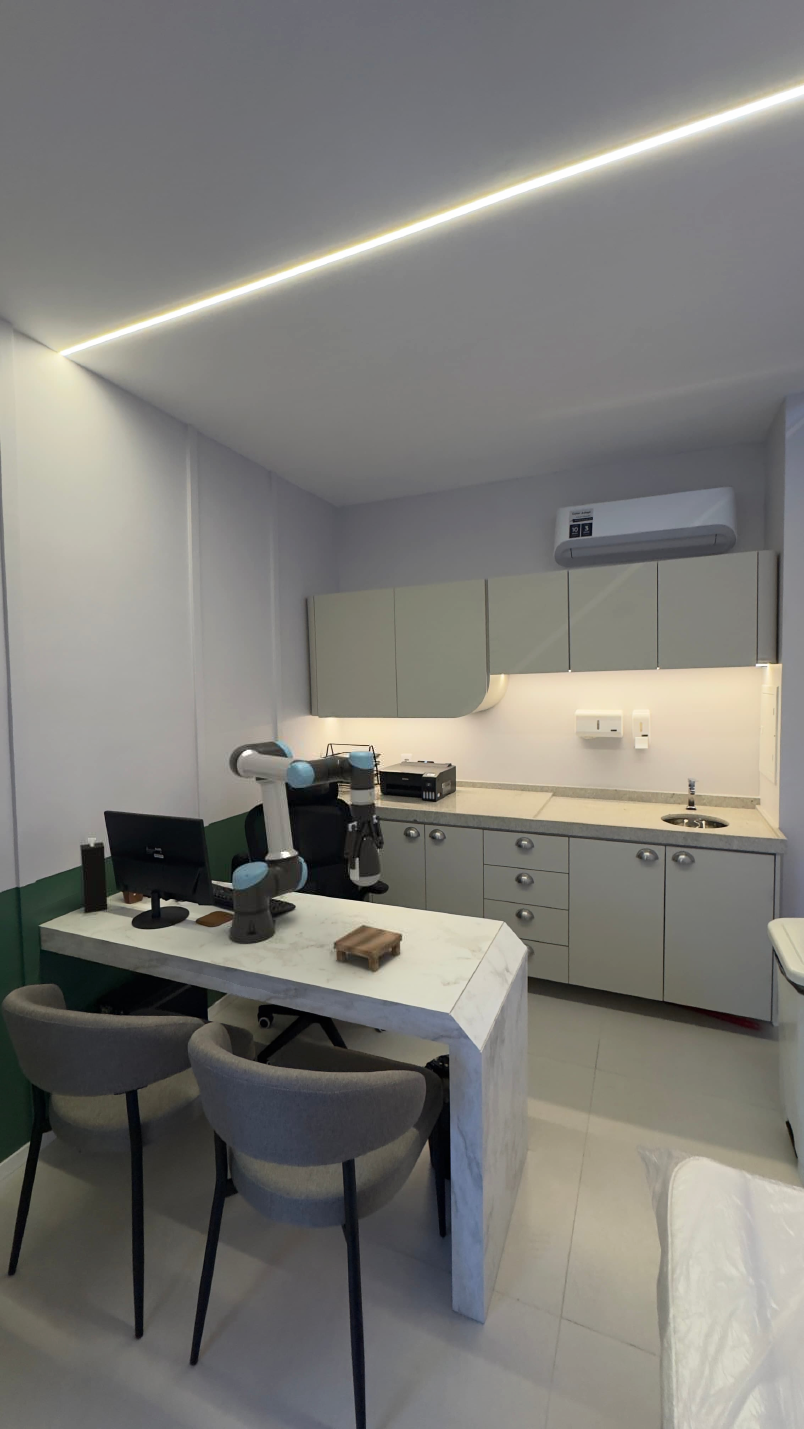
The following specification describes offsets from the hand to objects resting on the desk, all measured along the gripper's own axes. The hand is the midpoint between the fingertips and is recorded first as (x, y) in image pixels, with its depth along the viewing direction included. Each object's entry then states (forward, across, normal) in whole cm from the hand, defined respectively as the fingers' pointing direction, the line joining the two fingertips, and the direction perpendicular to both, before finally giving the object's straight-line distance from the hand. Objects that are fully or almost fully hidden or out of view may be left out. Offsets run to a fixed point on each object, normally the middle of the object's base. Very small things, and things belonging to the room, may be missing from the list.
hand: (365, 874), depth 185 cm
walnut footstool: (+26, 0, 0) cm, 26 cm away
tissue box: (+26, -18, +118) cm, 122 cm away
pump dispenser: (+3, 0, 0) cm, 3 cm away
